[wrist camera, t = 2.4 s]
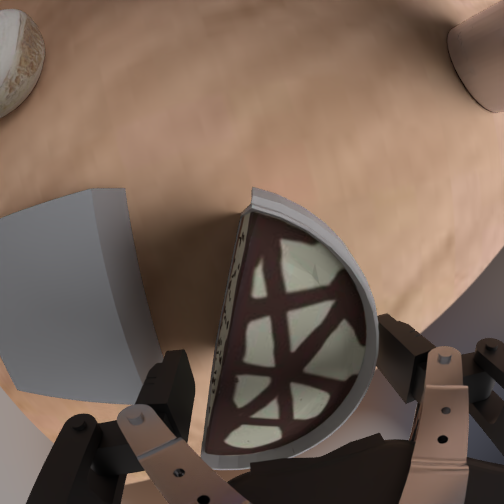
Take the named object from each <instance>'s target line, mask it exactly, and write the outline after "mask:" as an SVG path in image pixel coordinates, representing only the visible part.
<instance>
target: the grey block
mask: <svg viewBox="0 0 504 504" xmlns="http://www.w3.org/2000/svg"><path fill="white" fill-rule="evenodd" d="M0 356H1V358H2V360H3V363H4V365H5V367H6V369H7V371H8V373H9V375H10V377H11V379H12V381H13V383H14V385H15V386H16V388H17V390H19V391H24V392H29V393H34V394H39V395H45V396H50V397H57V398H63V399H71V400H79V401H88V402H99V403H112V404H130V405H135V402H136V400H137V398H138V395H139V393H140V390H141V388H142V386H143V385H144V384H143V383H144V381H145V379H146V376H147V374H148V372H149V370H150V369H151V368H152V367H153V366H154V365H155V364H156V363H162V362H163V359H164V358H163V355H162V352H161V349H160V345H159V342H158V339H157V335H156V332H155V328H154V325H153V321H152V318H151V314H150V310H149V307H148V303H147V299H146V295H145V291H144V287H143V282H142V278H141V274H140V269H139V265H138V260H137V255H136V250H135V245H134V240H133V235H132V229H131V223H130V218H129V211H128V205H127V198H126V191H125V188H93V189H88V190H84V191H81V192H77V193H74V194H70V195H67V196H64V197H60V198H57V199H54V200H51V201H48V202H45V203H41V204H38V205H35V206H33V207H30V208H27V209H24V210H21V211H18V212H16V213H13V214H10V215H8V216H5V217H2V218H0Z"/></svg>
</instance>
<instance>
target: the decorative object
mask: <svg viewBox="0 0 504 504" xmlns="http://www.w3.org/2000/svg"><path fill="white" fill-rule="evenodd" d="M44 57H45V45H44V41H43V38H42V35H41V34H40V31H39V29H38V27H37V25H36V24H35V22H34V21H33V20H32V19H31V17H29V16H28V15H27V14H26V13H25V12H22V11H20V10H17V9H5V10H0V118H1V117H3V116H5V115H7V114H8V113H10V112H11V111H13V110H14V109H15V108H17V107H18V106H19V105H20V104H21V103H22V102H23V101H24V100H25V99H26V98H27V96H28V95H29V94H30V93H31V91H32V90H33V88H34V86H35V85H36V83H37V81H38V78H39V76H40V74H41V70H42V66H43V61H44Z"/></svg>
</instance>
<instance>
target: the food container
mask: <svg viewBox="0 0 504 504" xmlns="http://www.w3.org/2000/svg"><path fill="white" fill-rule="evenodd" d="M378 349H379V330H378V318H377V312H376V306H375V301H374V298H373V295H372V292H371V290H370V287H369V285H368V282H367V280H366V277H365V276H364V274H363V272H362V271H361V269H360V267H359V266H358V264H357V262H356V261H355V259H354V258H353V256H352V255H351V253H350V251H349V250H348V248H347V247H346V245H345V244H344V242H343V241H342V240H341V239H340V238H339V237H338V236H337V235H336V234H335V233H334V232H333V231H332V230H331V228H330V227H329V226H328V225H327V224H326V223H325V222H323V221H322V220H321V219H319V218H318V217H316V216H315V215H314V214H312V213H311V212H310V211H308V210H307V209H305V208H304V207H302V206H300V205H298V204H296V203H294V202H292V201H290V200H288V199H286V198H284V197H282V196H280V195H278V194H275V193H272V192H268V191H265V190H262V189H258V188H255V187H252V200H251V204H250V205H249V206H248V207H247V208H246V209H245V210H244V211H243V212H242V213H241V216H240V221H239V226H238V231H237V236H236V241H235V246H234V251H233V256H232V261H231V266H230V271H229V276H228V281H227V286H226V291H225V296H224V301H223V307H222V312H221V317H220V323H219V328H218V333H217V339H216V344H215V351H214V358H213V365H212V372H211V380H210V387H209V395H208V403H207V410H206V418H205V426H204V435H203V441H202V448H201V459H202V460H203V461H204V462H205V463H206V464H207V465H209V466H210V467H211V468H212V469H214V470H241V469H250V463H251V462H259V461H267V460H273V459H280V458H293V457H295V456H297V455H299V454H301V453H303V452H305V451H307V450H309V449H311V448H313V447H315V446H316V445H318V444H319V443H320V442H322V441H323V440H325V439H327V438H328V437H329V436H330V435H332V434H333V433H334V432H335V431H336V430H337V429H338V428H339V427H341V426H342V425H343V424H344V423H345V422H346V421H347V419H348V418H349V417H350V416H351V415H352V413H353V412H354V411H355V410H356V409H357V407H358V405H359V404H360V402H361V400H362V399H363V397H364V395H365V394H366V392H367V390H368V387H369V385H370V382H371V380H372V377H373V375H374V372H375V367H376V362H377V358H378Z"/></svg>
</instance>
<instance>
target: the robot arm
mask: <svg viewBox="0 0 504 504" xmlns="http://www.w3.org/2000/svg"><path fill="white" fill-rule="evenodd" d="M447 43H448V50H449V53H450V57H451V60H452V62H453V65H454V67H455V69H456V71H457V73H458V75H459V77H460V79H461V80H462V82H463V83H464V85H465V87H466V88H467V89H468V91H469V92H470V93H471V95H472V96H473V97H474V98H475V99H476V100H477V101H478V103H480V104H481V105H482V106H483V107H484V108H486V109H488V110H489V111H491V112H495V113H498V112H503V111H504V0H501V1H499V2H498V3H496V4H494V5H492V6H490V7H488V8H487V9H485V10H483V11H481V12H480V13H478V14H476V15H474V16H472V17H471V18H469V19H467V20H466V21H464V22H462V23H461V24H459V25H457V26H456V27H454V28H453V29H451V30H450V32H449V34H448V39H447ZM377 318H378V330H379V349H378V358H377V362H376V366H377V368H378V369H379V370H380V371H381V373H382V374H383V375H384V376H385V378H386V379H387V380H388V382H389V383H390V384H391V385H392V387H393V388H394V389H395V391H396V392H397V393H398V394H399V396H400V397H401V398H402V400H403V401H404V402H405V403H406V404H407V403H409V402H412V401H414V400H416V401H417V402H418V403H417V407H416V411H415V416H414V421H413V425H412V429H411V434H410V438H409V440H396V439H394V440H384V439H383V438H382V436H381V434H380V433H377V434H374V435H371V436H369V437H366V438H363V439H360V440H356V441H353V442H350V443H348V444H346V445H344V446H342V447H340V448H338V449H336V450H334V451H332V452H330V453H328V454H326V455H324V456H321V457H316V458H280V459H273V460H267V461H259V462H251V463H250V470H251V471H250V472H247V473H244V474H242V475H239V476H237V477H235V478H233V479H231V480H230V481H228V482H226V481H224V480H223V479H222V478H221V477H220V476H219V475H218V474H217V473H216V472H215V471H214V470H213V469H212V468H211V467H210V466H209V465H207V464H206V463H205V462H204V461H203V460H202V459H201V458H200V457H199V456H198V454H197V453H196V452H195V451H194V450H193V449H192V448H191V447H190V446H189V445H188V444H187V441H188V435H189V428H190V422H191V416H192V409H193V403H194V397H195V381H194V377H193V374H192V371H191V368H190V364H189V361H188V357H187V354H186V352H185V350H173V351H167V352H166V354H165V356H164V359H163V362H162V363H156V364H155V365H154V366H153V367H152V368H151V369H150V370H149V372H148V374H147V376H146V379H145V381H144V383H143V384H144V385H143V386H142V388H141V390H140V393H139V395H138V398H137V400H136V402H135V405H131V406H128V407H126V408H125V409H123V410H122V411H121V412H120V413H119V414H118V416H117V420H115V421H110V422H104V423H97V421H96V419H95V418H94V417H93V416H92V415H90V414H78V415H75V416H73V417H71V418H69V419H68V420H67V421H66V422H65V424H64V426H63V428H62V429H61V431H60V433H59V435H58V437H57V439H56V441H55V443H54V445H53V447H52V449H51V451H50V453H49V455H48V457H47V459H46V461H45V463H44V465H43V467H42V469H41V471H40V473H39V475H38V478H37V480H36V482H35V484H34V486H33V488H32V491H31V493H30V495H29V498H28V500H27V503H26V504H121V499H122V494H123V489H124V485H125V480H126V476H127V474H128V473H134V472H140V471H146V473H147V474H148V476H149V477H150V479H151V480H152V482H153V483H154V485H155V486H156V487H157V489H158V490H159V491H160V493H161V494H162V496H163V497H164V498H165V500H166V501H167V502H168V503H169V504H504V465H501V464H496V463H490V462H486V461H482V460H477V459H473V458H469V457H467V445H468V424H469V414H470V415H471V416H472V417H473V418H474V419H475V421H476V422H477V423H478V424H479V426H480V427H481V428H482V429H483V431H484V432H485V433H486V434H487V436H488V437H489V438H490V439H491V440H492V442H493V443H494V444H495V446H496V447H497V448H498V449H499V451H500V452H501V453H502V455H503V456H504V401H503V400H502V399H501V398H500V397H499V396H498V395H497V394H496V393H495V392H494V391H493V390H492V389H493V387H494V384H495V381H496V382H497V383H498V384H499V385H500V386H502V388H504V343H502V342H501V341H499V340H497V339H493V338H485V339H482V340H480V341H479V342H478V343H477V345H476V349H475V352H473V353H468V354H463V355H461V354H460V352H459V351H458V350H456V349H454V348H452V347H446V346H443V347H435V346H434V345H433V344H432V343H431V342H429V341H428V340H427V339H426V338H424V337H423V336H422V335H420V333H418V332H417V331H415V329H414V328H412V327H411V326H410V325H409V324H406V323H403V322H400V321H396V320H395V319H394V318H392V317H391V316H390V315H389V314H383V315H379V316H377Z"/></svg>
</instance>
